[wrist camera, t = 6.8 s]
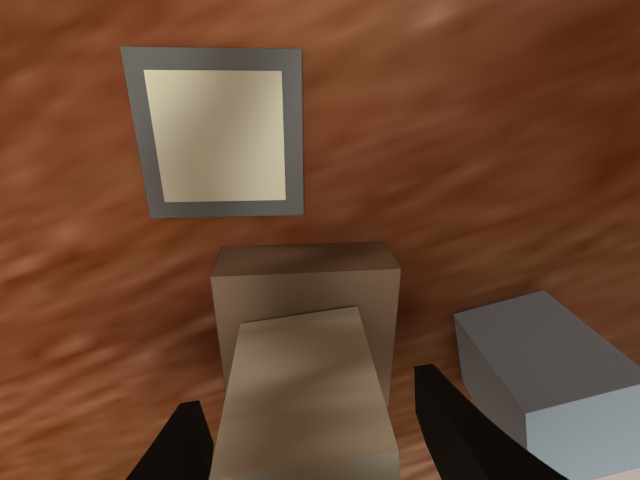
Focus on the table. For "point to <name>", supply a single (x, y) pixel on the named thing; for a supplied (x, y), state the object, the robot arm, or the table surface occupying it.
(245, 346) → the maple block
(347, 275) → the walnut block
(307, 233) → the table surface
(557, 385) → the slate block
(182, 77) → the swatch tile
